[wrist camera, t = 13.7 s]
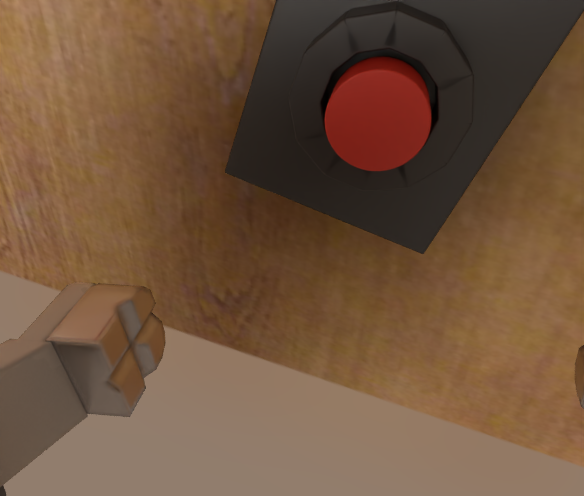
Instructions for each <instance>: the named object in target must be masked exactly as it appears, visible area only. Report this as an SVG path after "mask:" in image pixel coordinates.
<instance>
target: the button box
mask: <svg viewBox="0 0 584 496" xmlns="http://www.w3.org/2000/svg"><path fill="white" fill-rule="evenodd" d="M583 11H584V0H276V2H275V6H274V9H273V12H272V16H271V19H270V22H269V26H268V29H267V32H266V36H265V39H264V42H263V46H262V49H261V52H260V56H259V59H258V62H257V66H256V69H255V72H254V76H253V79H252V82H251V86H250V89H249V92H248V96H247V99H246V102H245V106H244V109H243V112H242V116H241V119H240V122H239V126H238V129H237V132H236V136H235V139H234V142H233V146H232V149H231V152H230V156H229V159H228V162H227V166H226V169H225V173H227V174H229V175H232V176H234V177H237V178H239V179H242V180H244V181H246V182H249V183H251V184H254V185H256V186H259V187H261V188H263V189H266V190H268V191H271V192H273V193H276V194H278V195H280V196H283V197H285V198H288V199H290V200H293V201H295V202H297V203H300V204H302V205H305V206H307V207H310V208H312V209H314V210H317V211H319V212H322V213H324V214H327V215H329V216H331V217H334V218H336V219H339V220H341V221H344V222H346V223H348V224H351V225H353V226H356V227H358V228H361V229H363V230H366V231H368V232H370V233H373V234H375V235H378V236H380V237H383V238H385V239H387V240H390V241H392V242H395V243H397V244H400V245H402V246H404V247H407V248H409V249H412V250H414V251H417V252H419V253H421V254H424V253H425V251H426V250H427V248H428V247H429V245H430V244H431V242H432V241H433V239H434V237H435V236H436V234H437V233H438V231H439V230H440V228H441V227H442V225H443V224H444V222H445V221H446V219H447V218H448V216H449V215H450V213H451V212H452V210H453V209H454V207H455V206H456V204H457V203H458V201H459V200H460V198H461V196H462V195H463V193H464V192H465V190H466V189H467V187H468V186H469V184H470V183H471V181H472V180H473V178H474V177H475V175H476V174H477V172H478V171H479V169H480V168H481V166H482V165H483V163H484V162H485V160H486V159H487V157H488V156H489V154H490V152H491V151H492V149H493V148H494V146H495V145H496V143H497V142H498V140H499V139H500V137H501V136H502V134H503V133H504V131H505V130H506V128H507V127H508V125H509V124H510V122H511V121H512V119H513V118H514V116H515V115H516V113H517V111H518V110H519V108H520V107H521V105H522V104H523V102H524V101H525V99H526V98H527V96H528V95H529V93H530V92H531V90H532V89H533V87H534V86H535V84H536V83H537V81H538V80H539V78H540V77H541V75H542V74H543V72H544V70H545V69H546V67H547V66H548V64H549V63H550V61H551V60H552V58H553V57H554V55H555V54H556V52H557V51H558V49H559V48H560V46H561V45H562V43H563V42H564V40H565V39H566V37H567V36H568V34H569V33H570V31H571V29H572V28H573V26H574V25H575V23H576V22H577V20H578V19H579V17H580V16H581V14H582V13H583ZM381 56H383V57H392V58H396V59H399V60H402V61H404V62H406V63H407V64H409V65H410V66H412V67H413V68H414V69H415V70H416V71H417V72H418V73H419V74H420V75H421V77H422V78H423V80H424V82H425V84H426V86H427V89H428V92H429V98H430V107H431V117H432V118H431V128H430V132H429V135H428V138H427V140H426V142H425V144H424V146H423V147H422V149H421V150H420V151H419V152H418V153H417V154H416V155H415V156H414V157H413V158H412V159H411V160H409V161H408V162H407V163H405V164H403V165H401V166H399V167H396V168H394V169H390V170H385V171H368V170H363V169H360V168H357V167H355V166H353V165H350V164H349V163H347V162H346V161H344V160H343V159H342V158H341V157H340V156H339V155H338V154H337V153H336V152H335V151H334V149H333V148H332V146H331V144H330V142H329V140H328V138H327V135H326V130H325V112H326V108H327V105H328V102H329V99H330V97H331V94H332V92H333V89H334V87H335V85H336V83H337V81H338V80H339V78H340V77H341V76H342V75H343V73H344V72H345V71H346V70H348V69H349V68H350V67H351V66H353V65H354V64H356V63H358V62H360V61H362V60H365V59H367V58H372V57H381Z"/></svg>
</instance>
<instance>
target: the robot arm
mask: <svg viewBox="0 0 584 496" xmlns="http://www.w3.org/2000/svg"><path fill="white" fill-rule="evenodd" d="M155 304H156V303H155V300H154V297H153V295H152V292H151V290H150V289H148V288H146V287H142V286H129V285H115V284H101V283H98V284H95V283H81V282H75V283H72V284H69V285H67V286H66V287H65V288H64V289H63V290H62V291H61V293H60V294H59V295H58V296H57V297H56V298H55V299H54V300H53V301H52V302H51V303H50V305H49V306H48V307H47V308H46V309H45V310H44V311H43V312H42V313H41V314H40V315H39V317H38V318H37V319H36V320H35V321H34V322H33V323H32V324H31V325H30V326H29V328H28V329H27V330H26V331H25V332H24V333H23V334H22V335H21V336H20V337H19V339H9V340H7V341H5V342H3V343H1V344H0V487H1V486H2V485H4V484H5V483H6V482H7V481H8V480H10V479H11V478H12V477H13V476H14V475H16V474H17V473H18V472H20V470H22V469H23V468H24V467H26V466H27V465H28V464H29V463H31V462H32V461H33V460H34V459H35V458H37V457H38V456H39V455H40V454H42V453H43V452H44V451H45V450H47V449H48V448H49V447H50V446H52V445H53V444H54V443H55V442H56V441H58V440H59V439H60V438H61V437H63V436H64V435H65V434H66V433H67V432H69V431H70V430H71V429H72V428H73V427H75V426H76V425H77V424H79V423H80V422H81V421H82V420H84V419H85V418H86V417H87V414H99V415H111V416H123V417H130V415H131V414H132V412H133V410H134V408H135V407H136V405H137V403H138V401H139V399H140V398H141V396H142V394H143V392H144V391H145V389H146V386H145V383H144V377H146V376H147V375H148V374H150V373H152V372H153V371H154V370H156V369H157V367H158V364H159V363H160V361H161V359H162V356H163V351H164V346H165V331H164V328H163V324H162V321H161V320H160V319H158V318H157V317H156V316H155V315H154V314H153V313H152V310H153V308H154V306H155ZM575 385H576V390H577V395H578V398H579V401H580V404H581V407H582V408H584V345H583V346H581V347H580V348H579V350H578V354H577V358H576V362H575Z"/></svg>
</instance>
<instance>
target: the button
mask: <svg viewBox="0 0 584 496" xmlns="http://www.w3.org/2000/svg"><path fill="white" fill-rule="evenodd" d="M431 118H432V117H431V107H430V98H429V92H428V89H427V86H426V84H425V82H424V80H423V78H422V77H421V75H420V74H419V73H418V72H417V71H416V70H415V69H414V68H413V67H412V66H410V65H409V64H407V63H406V62H404V61H402V60H399V59H396V58H392V57H383V56H381V57H372V58H367V59H365V60H362V61H360V62H358V63H356V64H354V65H353V66H351V67H350V68H349V69H348V70H346V71H345V72H344V73H343V75H342V76H341V77H340V78H339V80H338V81H337V83H336V85H335V87H334V89H333V92H332V94H331V97H330V99H329V102H328V105H327V108H326V112H325V130H326V135H327V138H328V140H329V142H330V144H331V146H332V148H333V149H334V151H335V152H336V153H337V154H338V155H339V156H340V157H341V158H342V159H343V160H344V161H346V162H347V163H349V164H350V165H353V166H355V167H357V168H360V169H363V170H368V171H385V170H390V169H394V168H396V167H399V166H401V165H403V164H405V163H407V162H408V161H409V160H411V159H412V158H413V157H414V156H415V155H416V154H417V153H418V152H419V151H420V150H421V149H422V147H423V146H424V144H425V142H426V140H427V138H428V135H429V132H430V128H431Z"/></svg>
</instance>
